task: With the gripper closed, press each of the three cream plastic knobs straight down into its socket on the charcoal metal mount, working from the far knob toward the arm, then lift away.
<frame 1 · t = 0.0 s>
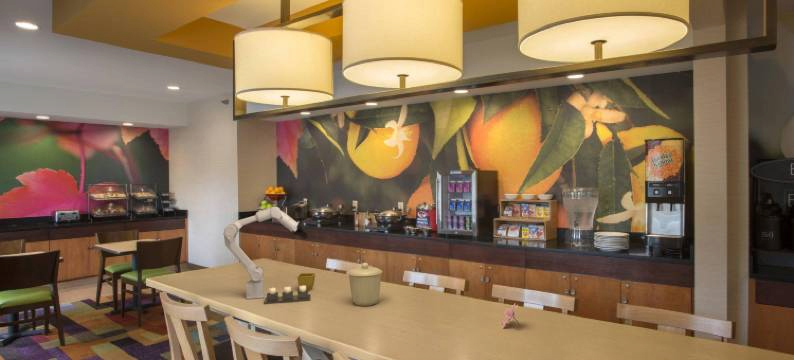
hand: (306, 236, 260), 32 cm above the table, tool tilted 50°, fingers open, 7 cm apart
knob middle: (287, 290, 246), point 5 cm above the table, slide at 0.0 cm
mount: (287, 300, 246), on the table
flower pot: (306, 290, 268), on the table
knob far: (302, 289, 248), point 5 cm above the table, slide at 0.0 cm
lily: (510, 326, 196), on the table
canister: (365, 303, 236), on the table
knob near: (272, 291, 244), point 5 cm above the table, slide at 0.0 cm
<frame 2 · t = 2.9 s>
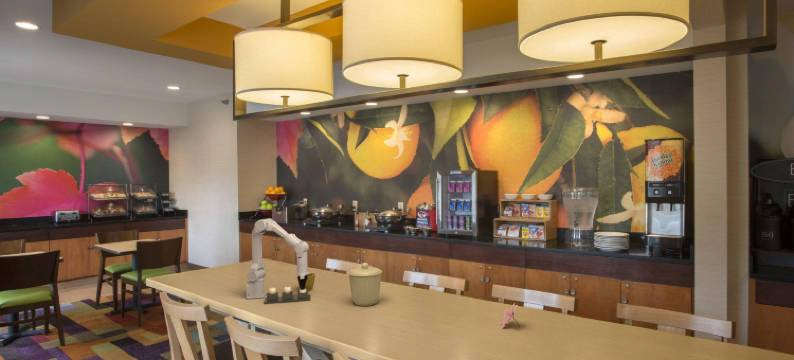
hand: (302, 289, 248), 5 cm above the table, tool pointing down, fingers closed, pressing on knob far
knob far: (302, 292, 248), point 3 cm above the table, slide at 1.8 cm, touching gripper
everything else where it was.
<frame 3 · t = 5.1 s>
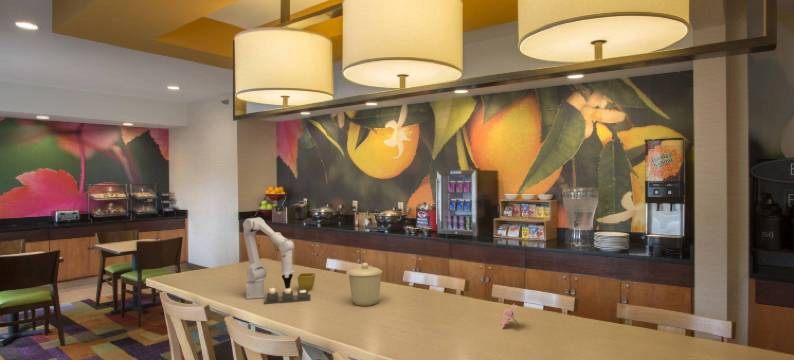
hand: (287, 288, 246), 6 cm above the table, tool pointing down, fingers closed, pressing on knob middle
knob middle: (287, 291, 246), point 5 cm above the table, slide at 0.6 cm, touching gripper
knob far: (302, 293, 248), point 3 cm above the table, slide at 2.4 cm
everything else where it was.
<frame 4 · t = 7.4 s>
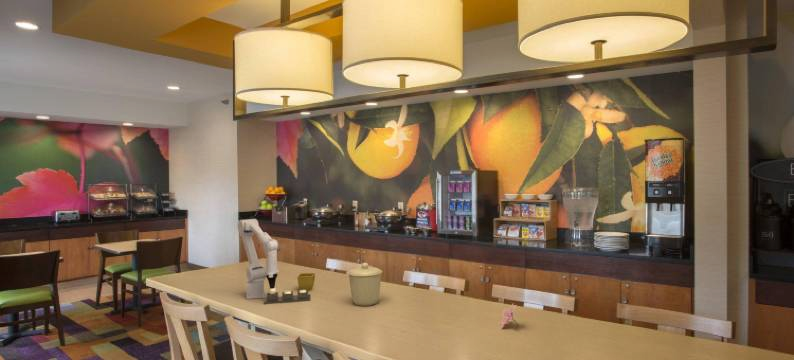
hand: (272, 288, 244), 7 cm above the table, tool pointing down, fingers closed, pressing on knob near
knob middle: (287, 294, 246), point 3 cm above the table, slide at 2.4 cm
knob near: (272, 291, 244), point 5 cm above the table, slide at 0.0 cm, touching gripper
everything else where it was.
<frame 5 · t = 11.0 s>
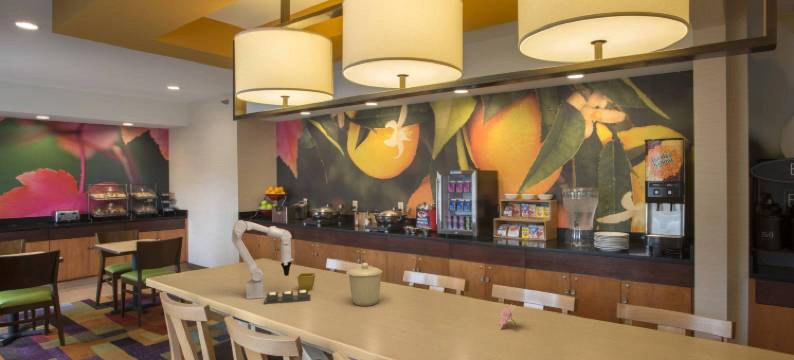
hand: (286, 275, 259), 10 cm above the table, tool pointing down, fingers closed
knob near: (272, 295, 244), point 3 cm above the table, slide at 2.4 cm
at the end: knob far slide at 2.4 cm; knob middle slide at 2.4 cm; knob near slide at 2.4 cm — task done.
